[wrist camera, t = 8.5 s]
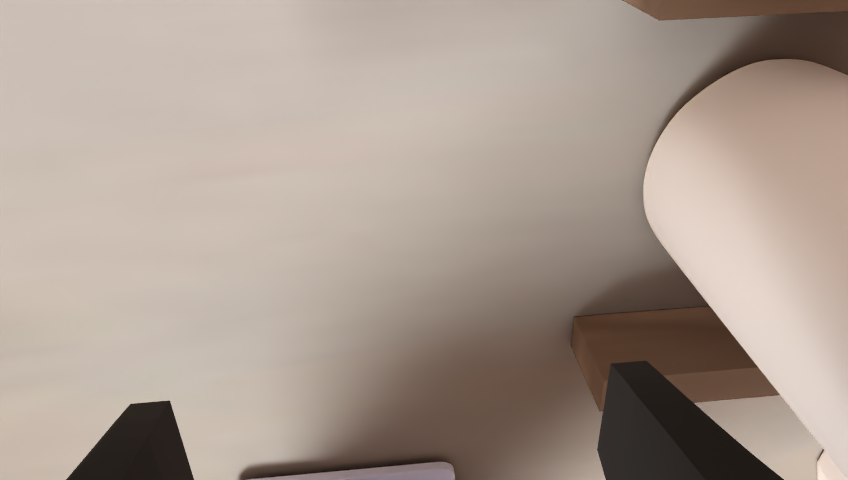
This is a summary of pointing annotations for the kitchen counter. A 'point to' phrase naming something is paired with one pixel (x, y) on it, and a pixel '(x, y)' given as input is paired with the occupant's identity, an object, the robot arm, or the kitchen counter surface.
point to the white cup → (828, 469)
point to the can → (767, 226)
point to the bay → (686, 327)
